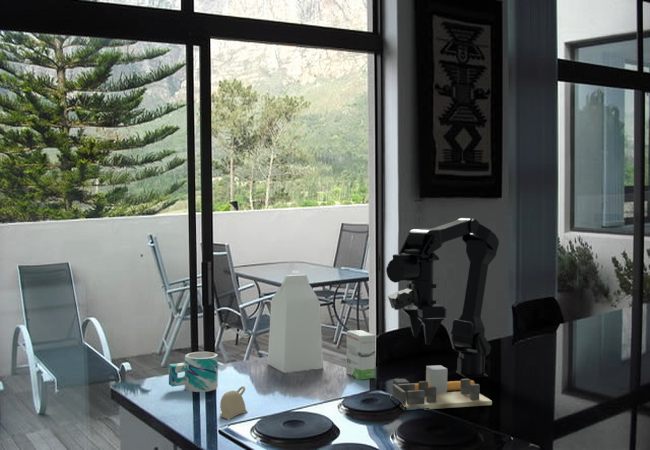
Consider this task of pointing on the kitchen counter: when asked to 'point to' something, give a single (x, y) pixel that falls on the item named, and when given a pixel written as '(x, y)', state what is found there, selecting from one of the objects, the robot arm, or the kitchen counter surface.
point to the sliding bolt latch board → (439, 396)
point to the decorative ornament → (232, 404)
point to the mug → (196, 372)
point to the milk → (295, 327)
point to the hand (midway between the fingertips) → (421, 340)
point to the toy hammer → (436, 380)
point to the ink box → (360, 354)
